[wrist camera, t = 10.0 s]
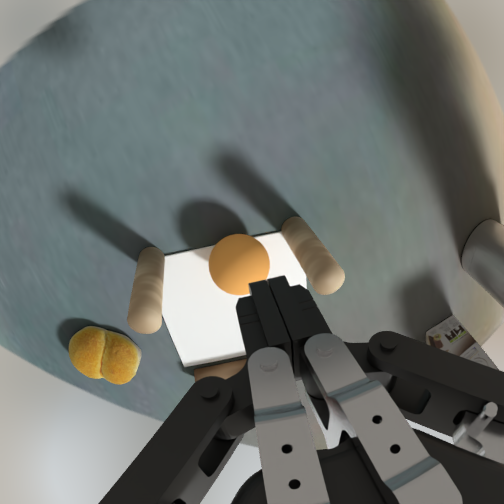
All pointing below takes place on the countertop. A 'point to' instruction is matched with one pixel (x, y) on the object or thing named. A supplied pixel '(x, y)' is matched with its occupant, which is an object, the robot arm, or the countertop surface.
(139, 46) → the countertop surface
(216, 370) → the stopper rail
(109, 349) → the bread roll
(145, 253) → the post
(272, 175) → the countertop surface
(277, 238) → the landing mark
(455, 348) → the coffee box
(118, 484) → the robot arm
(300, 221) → the post
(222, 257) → the ball
